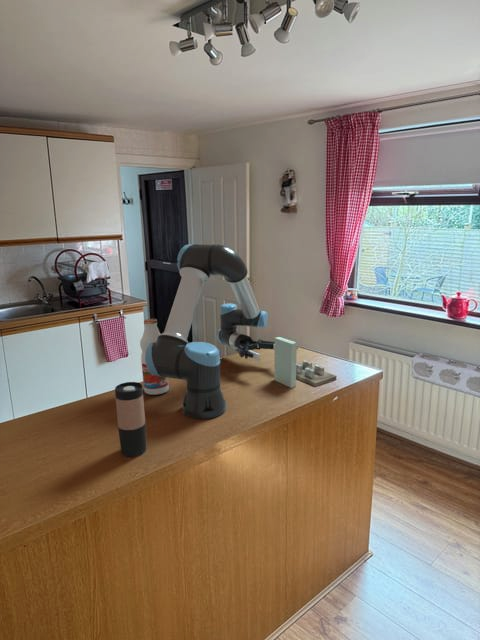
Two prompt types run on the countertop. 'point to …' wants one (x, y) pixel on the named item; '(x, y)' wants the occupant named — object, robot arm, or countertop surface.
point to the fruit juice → (151, 382)
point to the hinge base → (313, 374)
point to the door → (285, 361)
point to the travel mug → (131, 418)
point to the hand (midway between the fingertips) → (271, 354)
